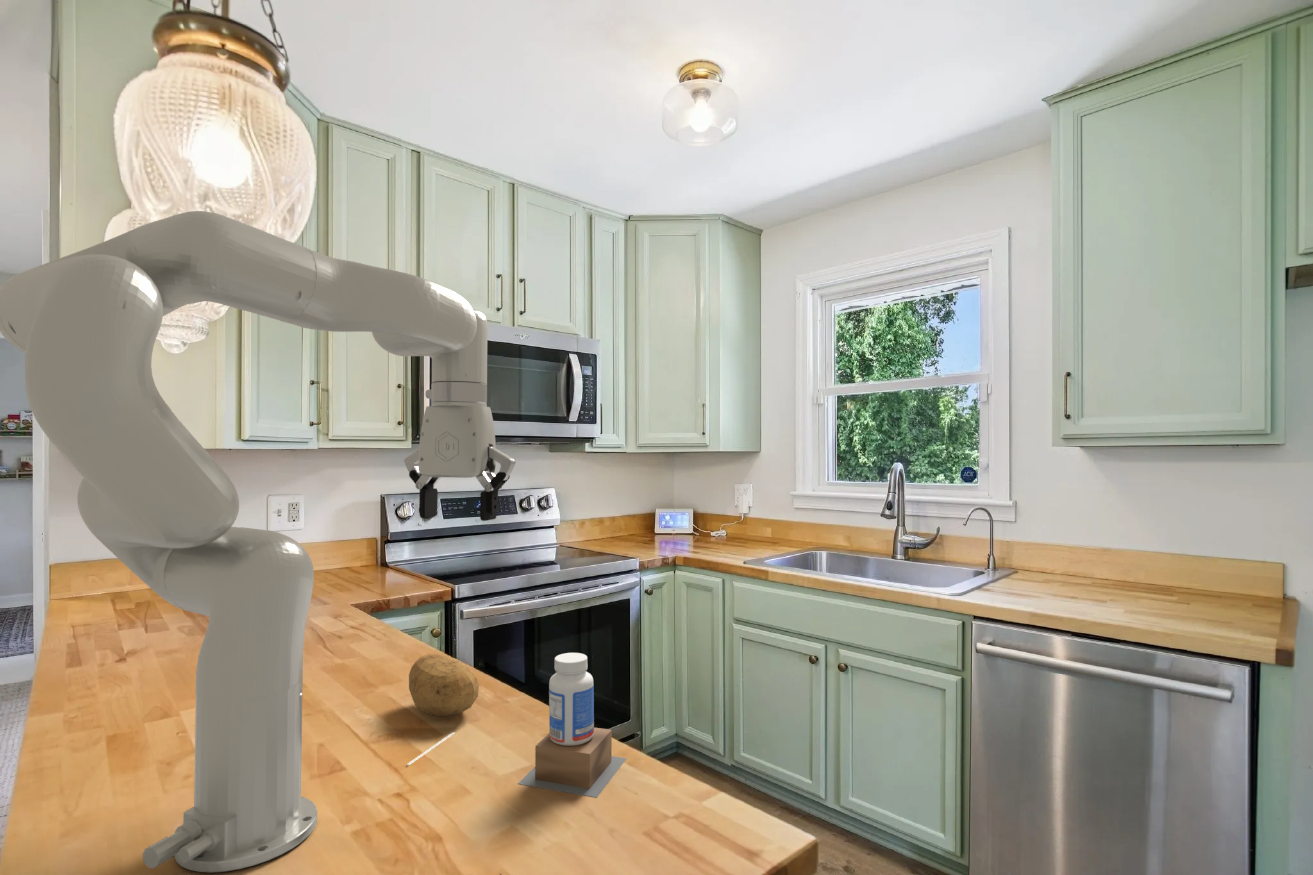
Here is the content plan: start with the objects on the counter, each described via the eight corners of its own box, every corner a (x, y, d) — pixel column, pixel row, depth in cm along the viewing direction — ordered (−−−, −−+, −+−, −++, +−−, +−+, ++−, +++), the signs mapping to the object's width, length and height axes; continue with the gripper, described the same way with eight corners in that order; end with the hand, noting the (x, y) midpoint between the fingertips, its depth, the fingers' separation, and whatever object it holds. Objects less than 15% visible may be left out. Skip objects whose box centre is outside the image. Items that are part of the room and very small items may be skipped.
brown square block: (589, 788, 78) (590, 753, 78) (535, 779, 80) (535, 745, 80) (611, 761, 85) (611, 729, 85) (560, 753, 87) (560, 722, 87)
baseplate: (596, 806, 76) (596, 797, 76) (517, 792, 79) (517, 783, 79) (626, 766, 86) (626, 758, 86) (554, 754, 89) (554, 747, 89)
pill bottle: (595, 727, 85) (595, 650, 85) (592, 747, 80) (593, 664, 80) (551, 728, 85) (552, 650, 85) (545, 747, 80) (546, 664, 80)
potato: (432, 737, 94) (433, 679, 94) (394, 707, 104) (395, 655, 104) (496, 718, 100) (496, 664, 100) (453, 692, 111) (454, 643, 111)
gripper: (390, 396, 94) (388, 518, 94) (500, 394, 89) (498, 523, 89) (423, 399, 102) (422, 513, 101) (527, 398, 96) (525, 518, 96)
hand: (458, 518), depth 95 cm, fingers open, 9 cm apart
